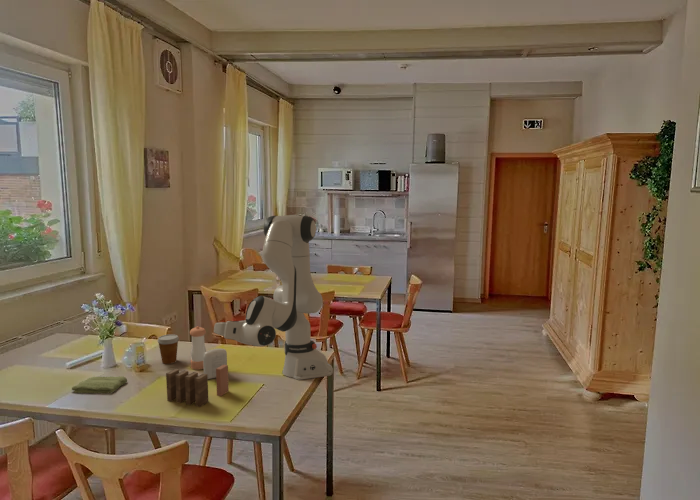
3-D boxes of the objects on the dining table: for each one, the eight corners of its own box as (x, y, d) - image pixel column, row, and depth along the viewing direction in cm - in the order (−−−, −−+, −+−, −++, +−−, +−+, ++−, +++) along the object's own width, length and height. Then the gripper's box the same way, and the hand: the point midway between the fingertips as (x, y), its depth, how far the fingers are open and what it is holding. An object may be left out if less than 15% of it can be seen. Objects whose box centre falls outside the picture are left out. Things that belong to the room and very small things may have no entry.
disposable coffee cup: (167, 366, 227) (166, 341, 225) (154, 362, 232) (152, 338, 230) (184, 360, 235) (183, 336, 233) (171, 356, 240) (169, 332, 238)
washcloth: (89, 381, 211) (88, 374, 211) (129, 382, 210) (128, 375, 209) (69, 394, 198) (69, 386, 198) (112, 395, 197) (111, 387, 196)
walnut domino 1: (180, 396, 195) (179, 369, 194) (171, 401, 191) (170, 373, 189) (176, 395, 196) (175, 368, 195) (167, 400, 191) (166, 373, 190)
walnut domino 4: (208, 401, 190) (207, 374, 189) (200, 406, 186) (198, 379, 184) (204, 400, 191) (203, 373, 190) (195, 406, 186) (194, 378, 185)
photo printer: (225, 372, 220) (224, 345, 218) (228, 375, 216) (228, 348, 215) (202, 377, 214) (201, 350, 213) (205, 380, 211) (204, 352, 209)
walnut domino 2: (189, 397, 194) (188, 371, 192) (180, 403, 189) (179, 375, 188) (185, 397, 194) (184, 370, 193) (176, 402, 190) (175, 374, 188)
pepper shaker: (187, 368, 225) (185, 327, 222) (197, 363, 232) (196, 323, 229) (200, 370, 222) (198, 329, 220) (210, 365, 229) (209, 325, 226)
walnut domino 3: (198, 399, 192) (197, 372, 191) (190, 405, 187) (189, 377, 186) (194, 398, 193) (193, 371, 191) (186, 404, 188) (184, 376, 187)
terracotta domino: (228, 391, 200) (227, 365, 199) (221, 396, 195) (220, 369, 194) (224, 390, 201) (223, 364, 199) (216, 395, 196) (215, 368, 195)
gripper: (273, 326, 192) (257, 324, 203) (224, 320, 180) (210, 318, 191) (270, 342, 191) (255, 339, 202) (221, 338, 179) (207, 334, 190)
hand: (232, 329), depth 197 cm, fingers open, 8 cm apart
